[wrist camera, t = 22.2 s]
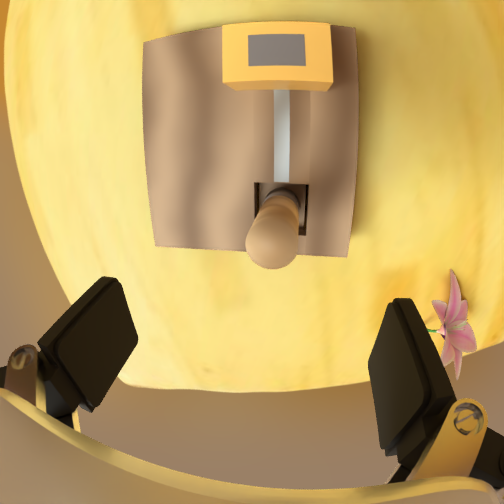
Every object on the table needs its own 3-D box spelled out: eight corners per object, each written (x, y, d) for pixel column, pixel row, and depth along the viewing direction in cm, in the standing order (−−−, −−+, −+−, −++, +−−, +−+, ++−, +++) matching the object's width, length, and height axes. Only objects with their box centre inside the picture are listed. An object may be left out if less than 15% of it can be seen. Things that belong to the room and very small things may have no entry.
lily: (458, 332, 30) (503, 345, 21) (401, 378, 29) (444, 406, 20) (441, 259, 30) (492, 258, 20) (378, 302, 29) (429, 316, 20)
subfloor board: (171, 231, 29) (155, 246, 26) (163, 51, 21) (143, 42, 17) (341, 240, 27) (347, 257, 23) (347, 41, 18) (355, 27, 15)
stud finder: (235, 90, 19) (222, 82, 15) (235, 41, 17) (222, 25, 13) (326, 91, 18) (333, 82, 14) (324, 41, 16) (329, 23, 12)
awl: (264, 219, 24) (245, 267, 16) (264, 187, 23) (244, 219, 15) (298, 221, 24) (296, 270, 16) (299, 188, 23) (299, 221, 15)
